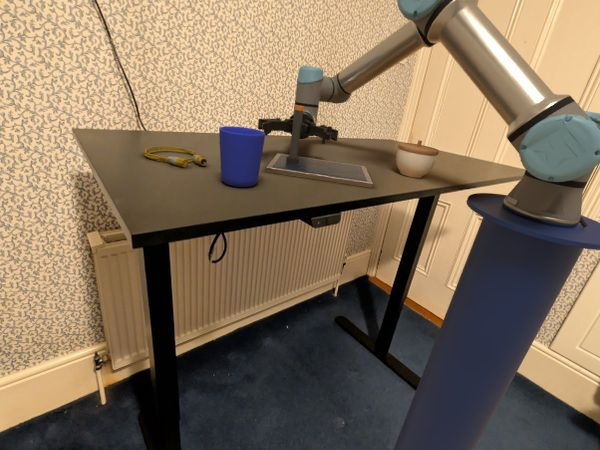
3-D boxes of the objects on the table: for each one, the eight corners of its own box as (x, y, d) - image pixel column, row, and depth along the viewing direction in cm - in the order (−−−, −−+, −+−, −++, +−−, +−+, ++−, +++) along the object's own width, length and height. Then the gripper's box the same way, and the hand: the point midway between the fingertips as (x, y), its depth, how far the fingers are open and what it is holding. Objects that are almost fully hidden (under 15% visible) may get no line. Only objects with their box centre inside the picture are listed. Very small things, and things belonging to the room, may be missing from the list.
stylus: (301, 164, 79) (308, 107, 74) (289, 163, 78) (295, 105, 73) (295, 160, 82) (302, 105, 77) (284, 160, 80) (290, 104, 75)
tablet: (364, 170, 88) (365, 166, 87) (371, 188, 72) (373, 182, 71) (277, 157, 88) (277, 152, 88) (265, 172, 73) (266, 166, 72)
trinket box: (438, 179, 89) (449, 145, 86) (414, 181, 83) (425, 144, 80) (407, 168, 97) (415, 137, 93) (383, 170, 91) (391, 136, 87)
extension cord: (144, 167, 64) (143, 157, 63) (144, 149, 77) (143, 141, 76) (207, 168, 69) (208, 159, 68) (197, 151, 82) (197, 143, 81)
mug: (243, 171, 70) (246, 124, 67) (267, 189, 61) (273, 135, 57) (206, 172, 66) (206, 121, 62) (226, 191, 57) (228, 133, 53)
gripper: (342, 143, 95) (345, 158, 75) (258, 131, 95) (240, 142, 76) (347, 117, 92) (352, 124, 72) (260, 104, 92) (242, 108, 73)
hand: (294, 133), depth 74 cm, fingers open, 13 cm apart
